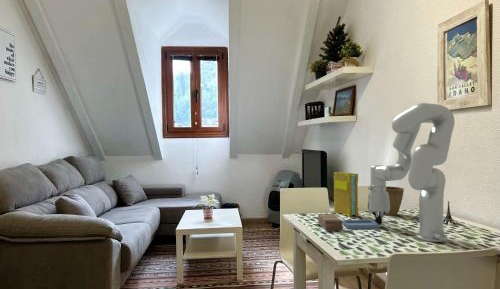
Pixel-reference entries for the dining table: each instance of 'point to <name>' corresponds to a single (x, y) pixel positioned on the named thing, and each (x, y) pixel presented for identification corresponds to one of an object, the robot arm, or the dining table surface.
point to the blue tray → (360, 224)
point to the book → (346, 193)
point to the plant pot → (394, 199)
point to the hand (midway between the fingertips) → (378, 224)
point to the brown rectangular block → (330, 222)
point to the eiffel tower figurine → (448, 216)
